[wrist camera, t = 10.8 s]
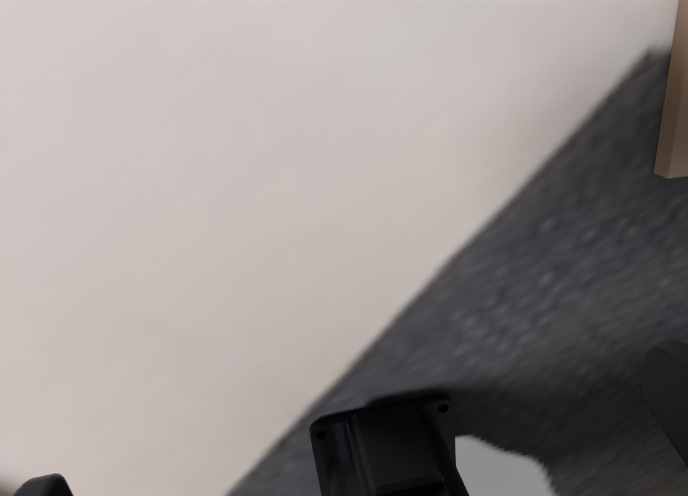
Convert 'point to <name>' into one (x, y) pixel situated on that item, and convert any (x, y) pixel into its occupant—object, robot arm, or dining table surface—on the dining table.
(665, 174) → the board
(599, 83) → the dining table surface
